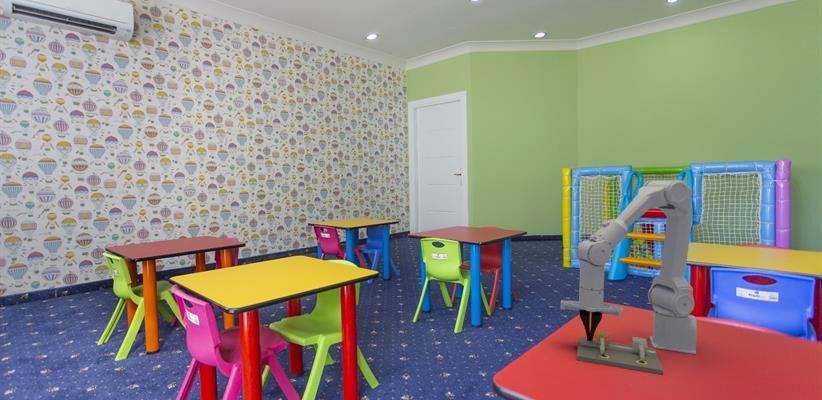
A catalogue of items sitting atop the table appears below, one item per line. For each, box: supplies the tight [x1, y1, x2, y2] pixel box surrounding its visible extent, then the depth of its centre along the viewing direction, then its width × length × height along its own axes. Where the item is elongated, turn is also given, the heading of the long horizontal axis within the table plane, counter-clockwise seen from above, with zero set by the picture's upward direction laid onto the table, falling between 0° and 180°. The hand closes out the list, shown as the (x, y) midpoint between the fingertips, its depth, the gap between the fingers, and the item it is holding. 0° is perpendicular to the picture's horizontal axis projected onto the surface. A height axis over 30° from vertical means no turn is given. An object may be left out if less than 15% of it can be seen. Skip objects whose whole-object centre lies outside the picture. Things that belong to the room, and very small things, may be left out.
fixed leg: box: [631, 336, 648, 362], centre depth 99 cm, size 3×8×3 cm, turn 156°
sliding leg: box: [594, 329, 610, 355], centre depth 103 cm, size 3×8×3 cm, turn 156°
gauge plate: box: [576, 337, 664, 375], centre depth 102 cm, size 18×13×2 cm
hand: (589, 339), depth 106 cm, fingers closed
